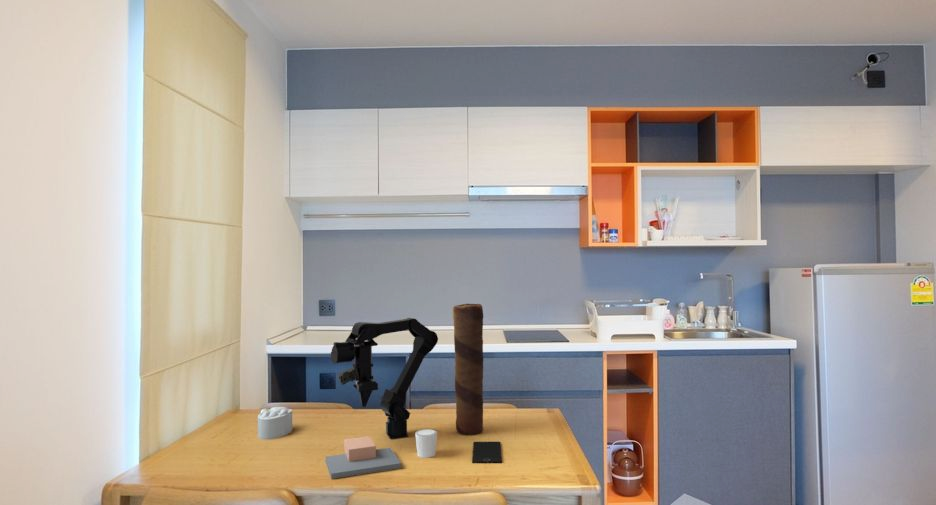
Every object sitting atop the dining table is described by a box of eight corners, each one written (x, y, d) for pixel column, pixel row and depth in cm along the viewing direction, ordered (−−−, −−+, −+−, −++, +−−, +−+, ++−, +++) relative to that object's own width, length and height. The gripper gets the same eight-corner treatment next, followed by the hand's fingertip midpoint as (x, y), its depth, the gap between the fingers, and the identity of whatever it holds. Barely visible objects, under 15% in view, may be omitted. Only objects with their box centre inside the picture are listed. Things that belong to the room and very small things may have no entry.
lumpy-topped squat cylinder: (296, 428, 199) (295, 404, 200) (278, 440, 187) (278, 414, 187) (269, 427, 201) (269, 404, 201) (250, 439, 188) (250, 414, 188)
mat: (390, 452, 173) (390, 447, 173) (401, 468, 159) (401, 463, 159) (325, 461, 166) (325, 456, 166) (331, 479, 152) (331, 473, 152)
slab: (369, 436, 173) (375, 446, 164) (369, 447, 173) (375, 457, 164) (344, 439, 171) (348, 449, 161) (344, 450, 171) (349, 461, 161)
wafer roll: (480, 437, 186) (478, 305, 187) (451, 434, 189) (449, 305, 190) (489, 428, 196) (487, 303, 197) (461, 425, 199) (459, 302, 200)
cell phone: (472, 464, 162) (472, 461, 162) (473, 444, 180) (473, 441, 180) (501, 464, 162) (501, 461, 162) (500, 444, 180) (500, 441, 180)
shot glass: (420, 460, 166) (420, 436, 166) (412, 453, 172) (411, 430, 172) (441, 456, 169) (440, 433, 169) (432, 449, 175) (431, 427, 175)
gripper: (335, 357, 189) (335, 402, 188) (342, 366, 171) (343, 416, 171) (367, 355, 193) (367, 399, 192) (377, 364, 175) (378, 412, 175)
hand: (363, 406), depth 182 cm, fingers closed
